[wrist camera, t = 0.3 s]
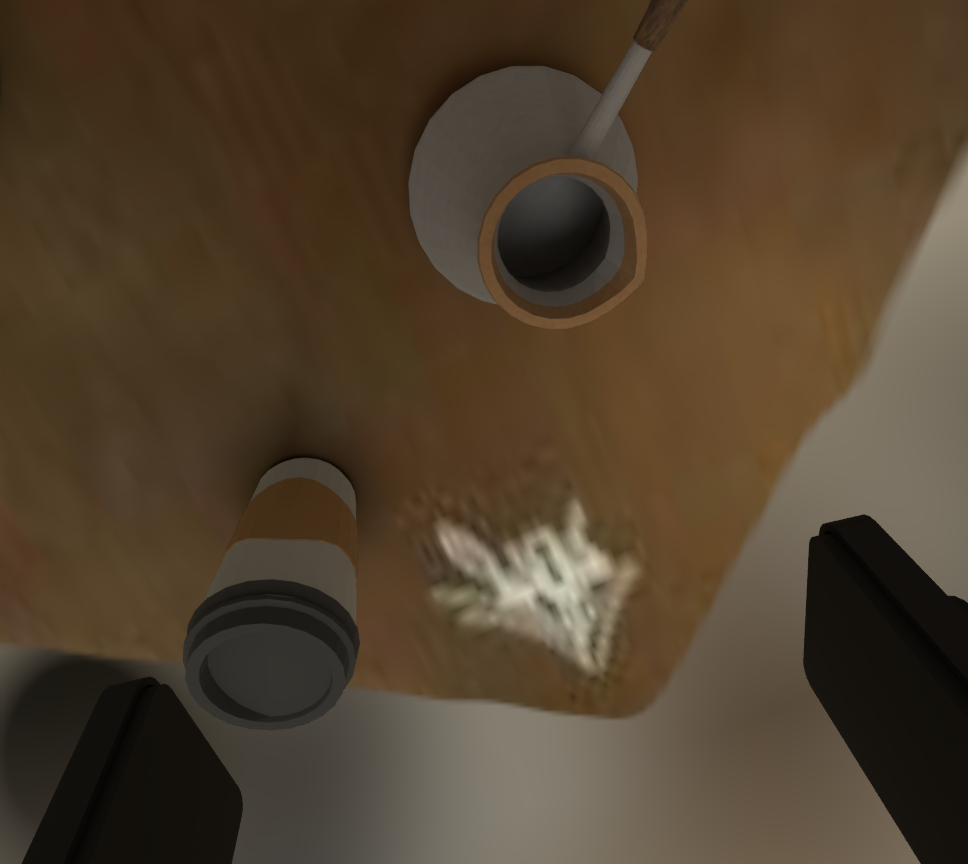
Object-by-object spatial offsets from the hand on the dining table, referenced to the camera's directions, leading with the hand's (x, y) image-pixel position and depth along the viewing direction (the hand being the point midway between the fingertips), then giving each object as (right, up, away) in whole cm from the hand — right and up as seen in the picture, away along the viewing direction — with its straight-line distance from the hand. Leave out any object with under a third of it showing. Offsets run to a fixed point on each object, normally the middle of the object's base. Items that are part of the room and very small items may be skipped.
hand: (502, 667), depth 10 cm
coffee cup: (-12, -1, +35) cm, 37 cm away
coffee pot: (+3, +21, +24) cm, 32 cm away
